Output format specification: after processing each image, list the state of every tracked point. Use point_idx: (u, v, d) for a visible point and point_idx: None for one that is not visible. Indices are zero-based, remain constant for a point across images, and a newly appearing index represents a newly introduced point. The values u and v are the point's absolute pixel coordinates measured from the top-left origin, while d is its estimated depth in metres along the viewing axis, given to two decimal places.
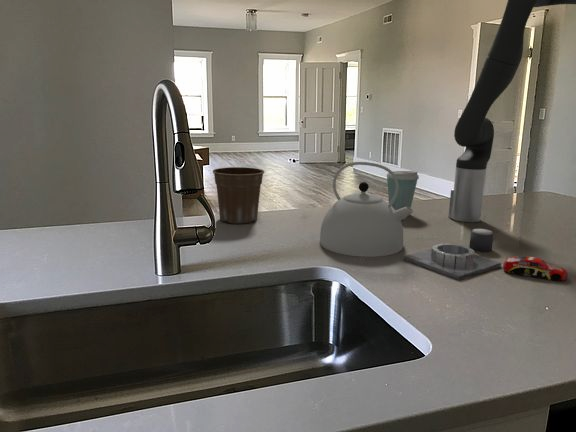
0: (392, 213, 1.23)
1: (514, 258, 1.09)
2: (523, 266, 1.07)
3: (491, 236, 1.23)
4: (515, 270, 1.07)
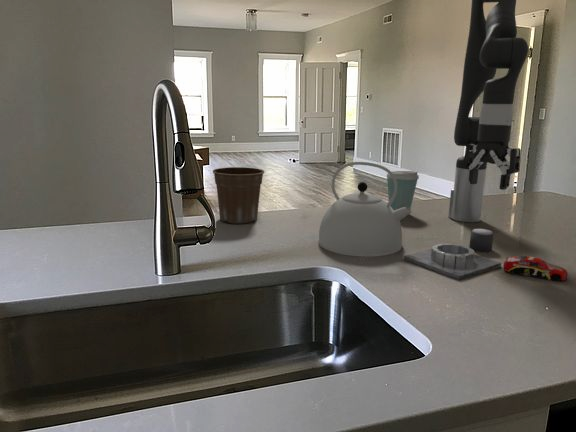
0: (391, 213, 1.23)
1: (514, 258, 1.09)
2: (523, 266, 1.07)
3: (491, 236, 1.23)
4: (515, 270, 1.08)
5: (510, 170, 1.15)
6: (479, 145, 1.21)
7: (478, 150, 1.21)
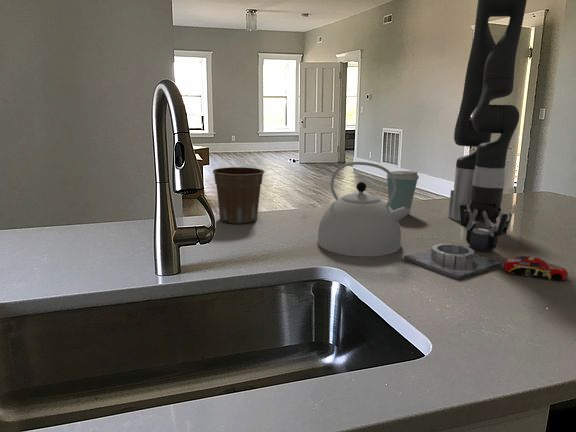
0: (389, 213, 1.23)
1: (514, 258, 1.09)
2: (524, 266, 1.06)
3: None
4: (516, 270, 1.07)
5: (497, 233, 1.20)
6: (472, 204, 1.25)
7: (472, 209, 1.25)
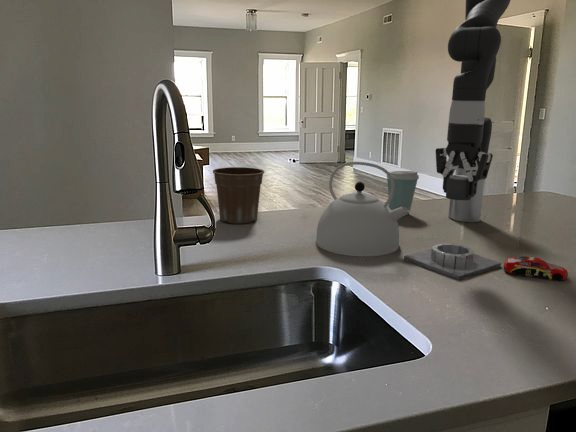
0: (388, 213, 1.23)
1: (514, 259, 1.09)
2: (524, 266, 1.06)
3: None
4: (516, 271, 1.07)
5: (476, 176, 1.04)
6: (448, 146, 1.10)
7: (449, 152, 1.10)
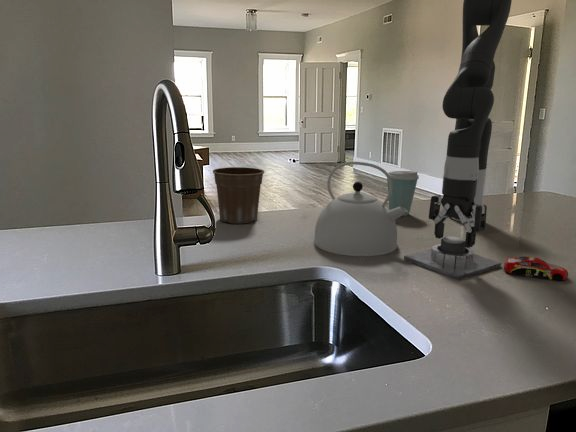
0: (386, 213, 1.23)
1: (515, 259, 1.09)
2: (524, 267, 1.06)
3: (462, 245, 1.11)
4: (516, 271, 1.07)
5: (475, 228, 1.06)
6: (444, 198, 1.13)
7: (443, 203, 1.13)
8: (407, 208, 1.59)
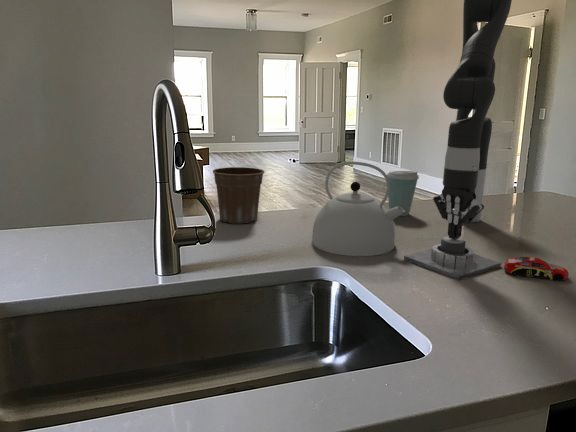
0: (383, 213, 1.23)
1: (515, 259, 1.09)
2: (525, 267, 1.06)
3: (462, 245, 1.11)
4: (517, 271, 1.07)
5: (461, 220, 1.09)
6: (443, 190, 1.12)
7: (445, 194, 1.12)
8: (407, 208, 1.59)
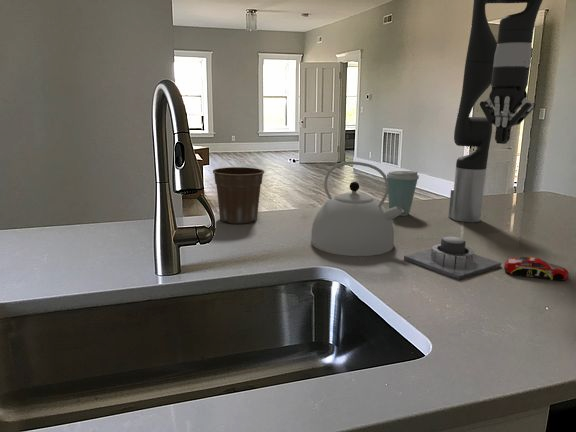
0: (382, 213, 1.23)
1: (515, 259, 1.09)
2: (525, 267, 1.06)
3: (462, 245, 1.11)
4: (518, 271, 1.07)
5: (510, 121, 1.06)
6: (491, 93, 1.09)
7: (493, 97, 1.09)
8: (407, 208, 1.59)
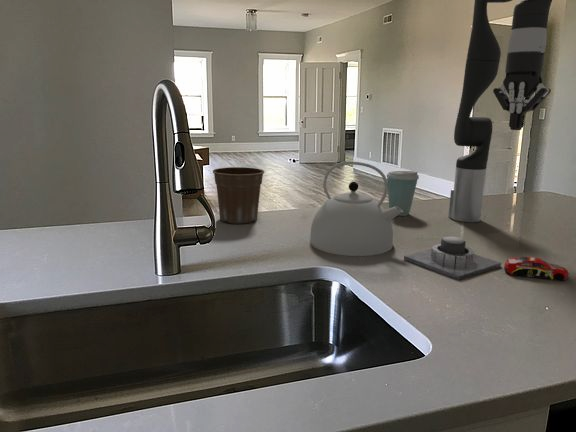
0: (381, 213, 1.23)
1: (515, 259, 1.09)
2: (526, 267, 1.06)
3: (462, 245, 1.11)
4: (518, 271, 1.06)
5: (525, 107, 1.05)
6: (505, 79, 1.09)
7: (507, 84, 1.08)
8: (407, 208, 1.59)
